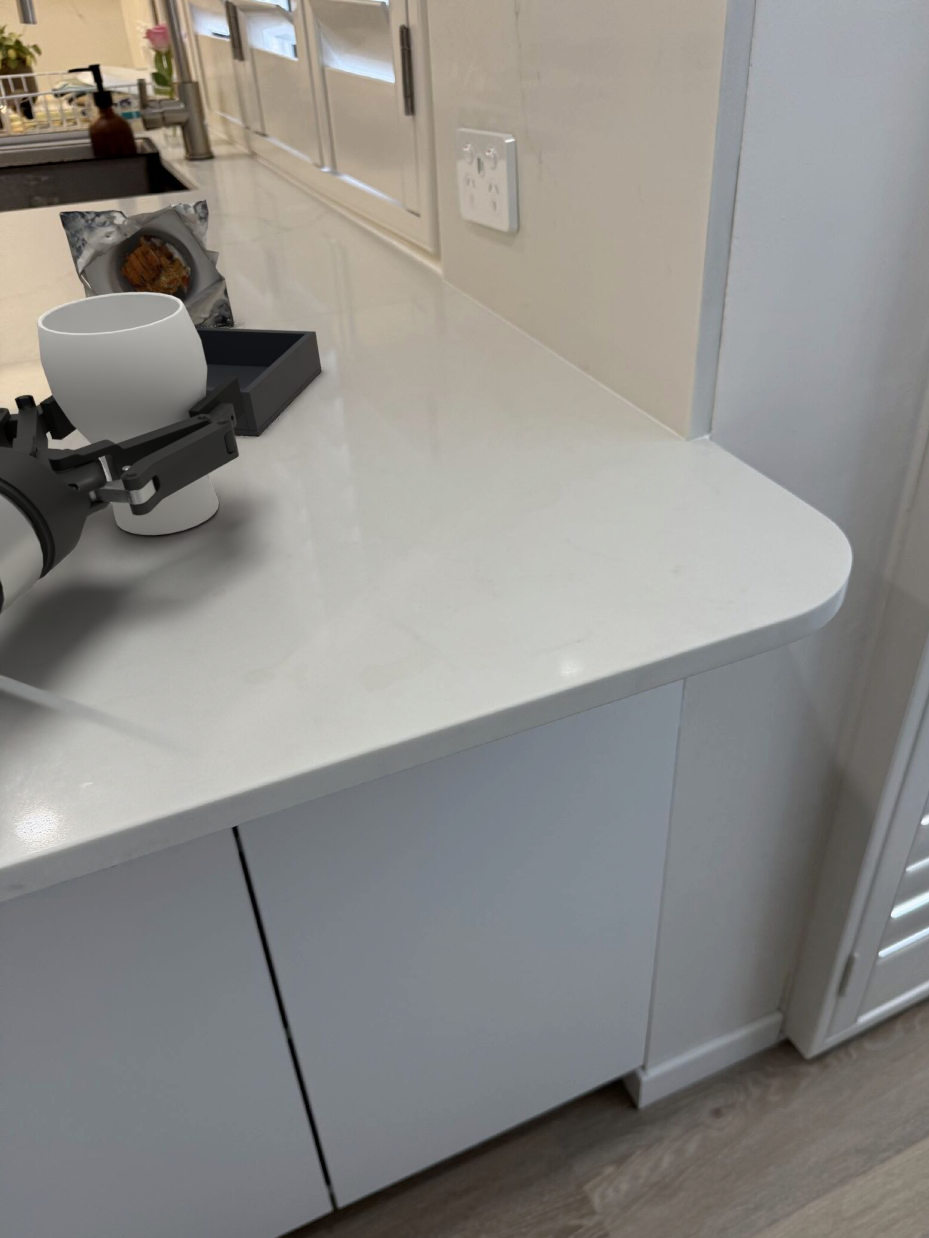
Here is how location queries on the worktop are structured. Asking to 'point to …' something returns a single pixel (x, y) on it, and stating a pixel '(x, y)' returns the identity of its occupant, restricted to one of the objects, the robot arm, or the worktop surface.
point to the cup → (129, 384)
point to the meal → (150, 257)
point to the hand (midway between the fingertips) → (166, 391)
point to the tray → (260, 369)
